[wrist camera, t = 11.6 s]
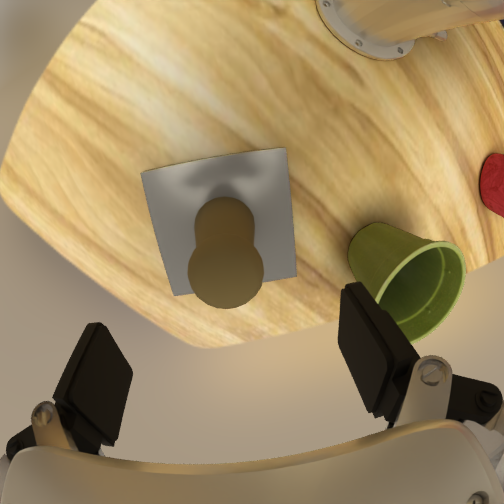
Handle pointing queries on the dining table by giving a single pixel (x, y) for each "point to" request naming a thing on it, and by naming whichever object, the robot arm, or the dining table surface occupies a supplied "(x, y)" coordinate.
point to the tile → (219, 185)
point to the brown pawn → (225, 254)
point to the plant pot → (408, 276)
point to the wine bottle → (493, 183)
